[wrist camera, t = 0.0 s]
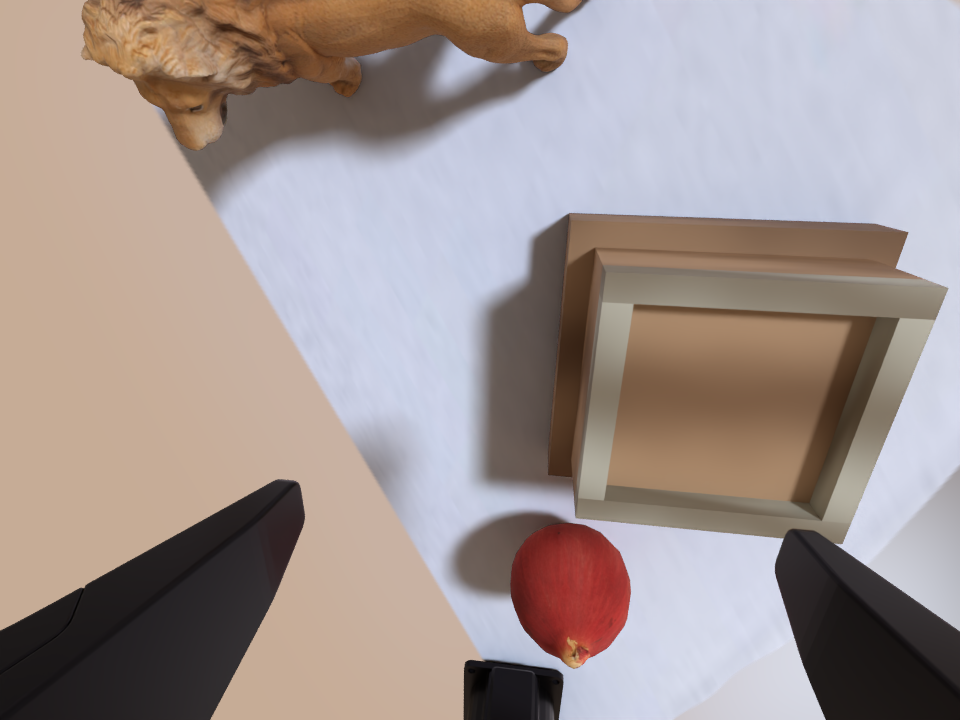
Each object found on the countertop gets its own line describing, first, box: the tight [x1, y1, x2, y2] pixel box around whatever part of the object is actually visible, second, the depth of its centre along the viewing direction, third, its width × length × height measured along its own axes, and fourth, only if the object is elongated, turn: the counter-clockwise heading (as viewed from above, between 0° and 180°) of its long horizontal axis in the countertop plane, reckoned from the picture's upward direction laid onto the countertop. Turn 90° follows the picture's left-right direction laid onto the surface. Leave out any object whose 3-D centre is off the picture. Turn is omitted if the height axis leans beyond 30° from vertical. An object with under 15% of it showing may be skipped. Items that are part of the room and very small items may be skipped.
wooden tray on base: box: [548, 213, 948, 544], centre depth 20 cm, size 12×12×6 cm
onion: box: [510, 523, 631, 669], centre depth 24 cm, size 6×6×8 cm
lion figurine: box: [81, 0, 582, 151], centre depth 15 cm, size 15×5×9 cm, turn 104°
